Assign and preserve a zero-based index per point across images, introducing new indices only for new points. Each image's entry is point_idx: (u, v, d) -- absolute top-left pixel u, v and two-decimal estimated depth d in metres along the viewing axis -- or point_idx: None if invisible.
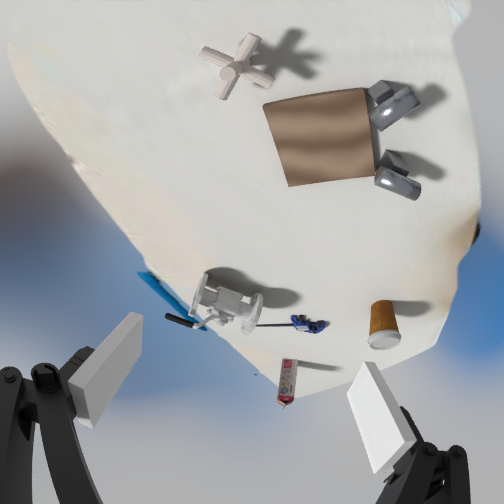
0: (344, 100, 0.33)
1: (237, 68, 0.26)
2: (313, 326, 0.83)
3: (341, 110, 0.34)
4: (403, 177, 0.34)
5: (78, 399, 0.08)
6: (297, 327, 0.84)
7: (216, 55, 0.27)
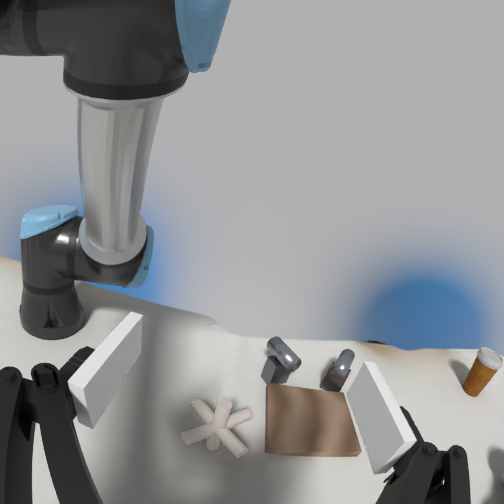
0: (275, 395, 0.42)
1: None
2: None
3: (284, 399, 0.41)
4: (337, 359, 0.48)
5: (78, 399, 0.08)
6: None
7: (197, 428, 0.27)
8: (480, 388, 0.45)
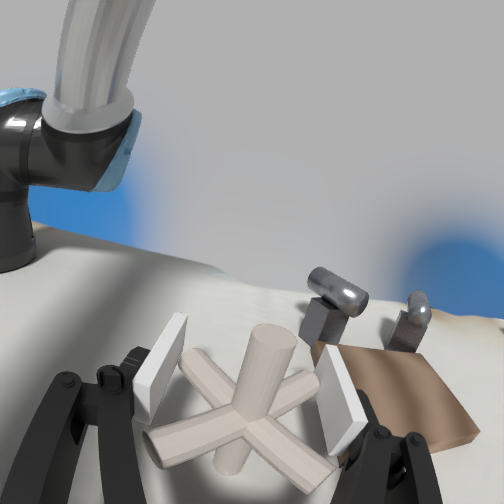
0: None
1: None
2: None
3: (347, 364, 0.24)
4: (409, 302, 0.30)
5: (141, 397, 0.09)
6: None
7: (190, 420, 0.10)
8: None
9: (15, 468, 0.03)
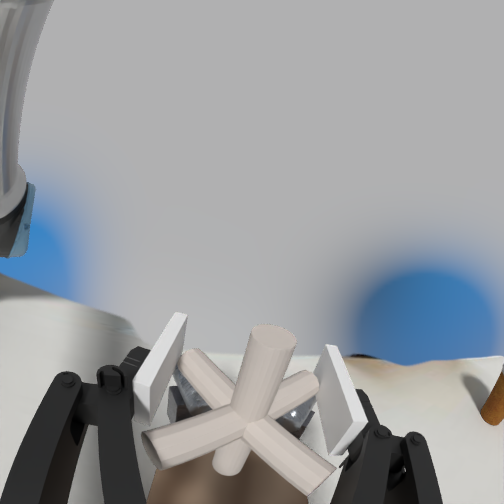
0: None
1: None
2: None
3: None
4: None
5: (141, 397, 0.09)
6: None
7: (189, 421, 0.10)
8: None
9: (15, 468, 0.03)
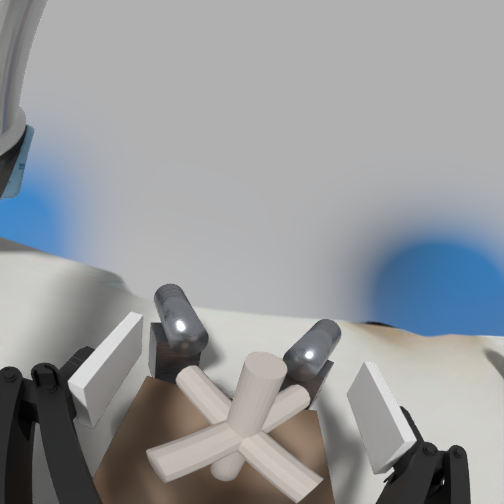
0: (150, 404, 0.17)
1: None
2: None
3: (166, 417, 0.17)
4: None
5: (78, 398, 0.08)
6: None
7: (189, 438, 0.10)
8: None
9: None
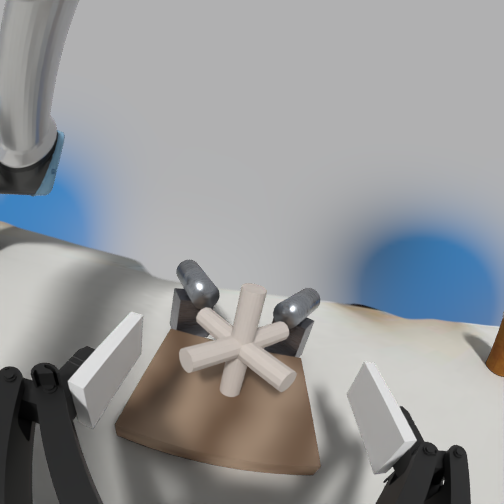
0: (174, 346, 0.26)
1: None
2: None
3: None
4: None
5: (78, 398, 0.08)
6: None
7: (207, 342, 0.19)
8: None
9: None
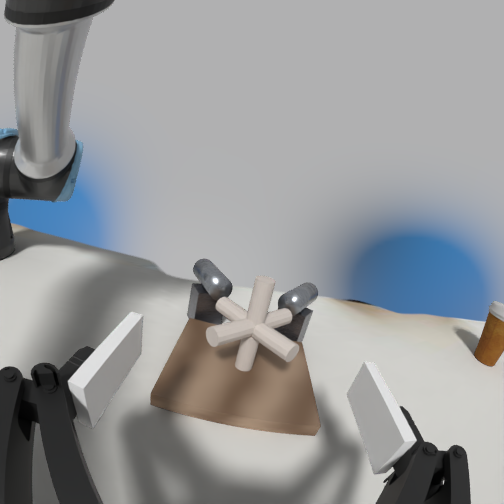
0: (194, 332, 0.31)
1: None
2: None
3: (205, 338, 0.31)
4: None
5: (78, 399, 0.08)
6: None
7: (228, 323, 0.24)
8: (497, 354, 0.34)
9: None
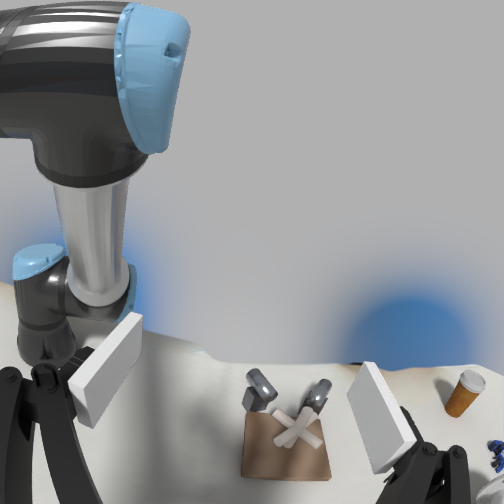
0: (253, 423, 0.43)
1: None
2: (498, 449, 0.30)
3: (261, 427, 0.43)
4: (314, 389, 0.49)
5: (78, 398, 0.08)
6: None
7: (285, 432, 0.36)
8: (462, 410, 0.46)
9: None
